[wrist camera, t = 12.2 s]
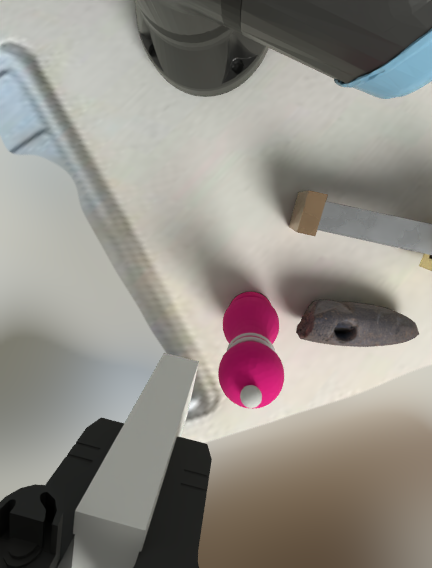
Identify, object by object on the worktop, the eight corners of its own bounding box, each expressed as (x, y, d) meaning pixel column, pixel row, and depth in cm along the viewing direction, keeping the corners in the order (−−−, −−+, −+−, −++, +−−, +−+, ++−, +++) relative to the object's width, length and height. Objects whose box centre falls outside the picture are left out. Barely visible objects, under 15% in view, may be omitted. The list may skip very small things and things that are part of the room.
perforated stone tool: (409, 302, 40) (442, 322, 33) (400, 337, 41) (429, 364, 35) (296, 290, 41) (305, 308, 34) (291, 325, 42) (298, 348, 36)
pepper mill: (242, 278, 41) (236, 345, 22) (286, 305, 42) (317, 394, 22) (216, 318, 43) (189, 412, 24) (257, 343, 44) (264, 455, 25)
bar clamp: (288, 226, 39) (297, 232, 32) (298, 192, 37) (309, 190, 30) (523, 278, 37) (585, 296, 30) (541, 244, 36) (611, 254, 29)
